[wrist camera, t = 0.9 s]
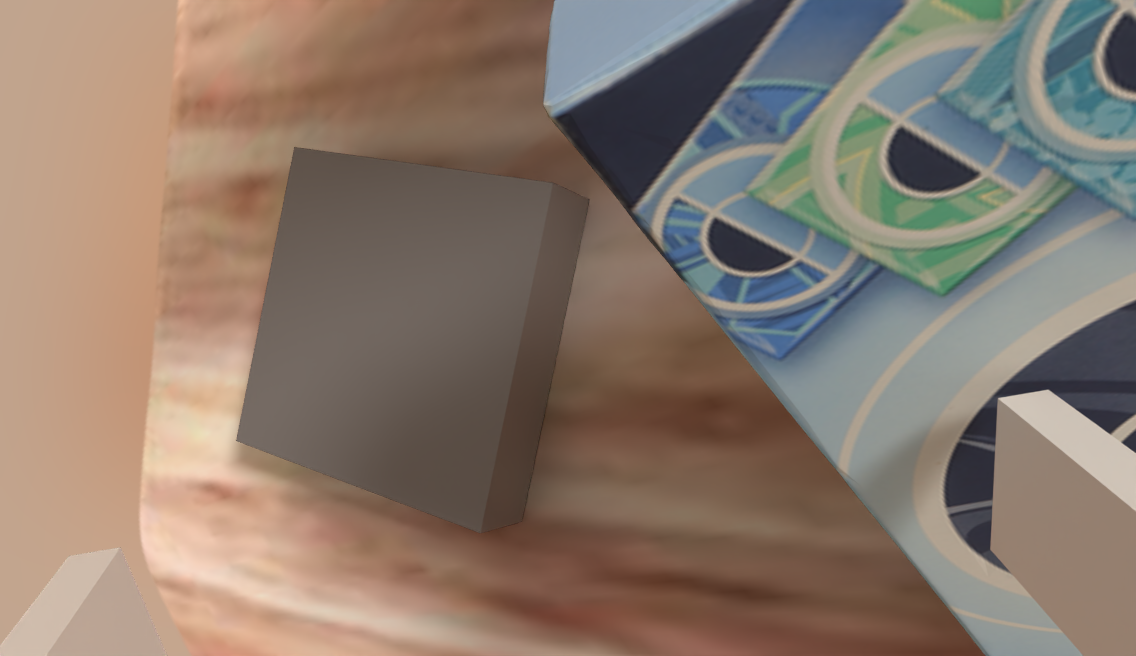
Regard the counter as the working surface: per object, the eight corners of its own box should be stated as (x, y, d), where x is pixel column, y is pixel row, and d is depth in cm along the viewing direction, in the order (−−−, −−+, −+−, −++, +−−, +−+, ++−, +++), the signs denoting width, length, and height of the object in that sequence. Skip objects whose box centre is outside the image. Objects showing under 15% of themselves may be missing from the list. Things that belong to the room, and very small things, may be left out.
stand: (342, 163, 39) (294, 147, 36) (589, 199, 33) (553, 182, 30) (287, 437, 39) (236, 440, 37) (521, 521, 33) (480, 533, 31)
